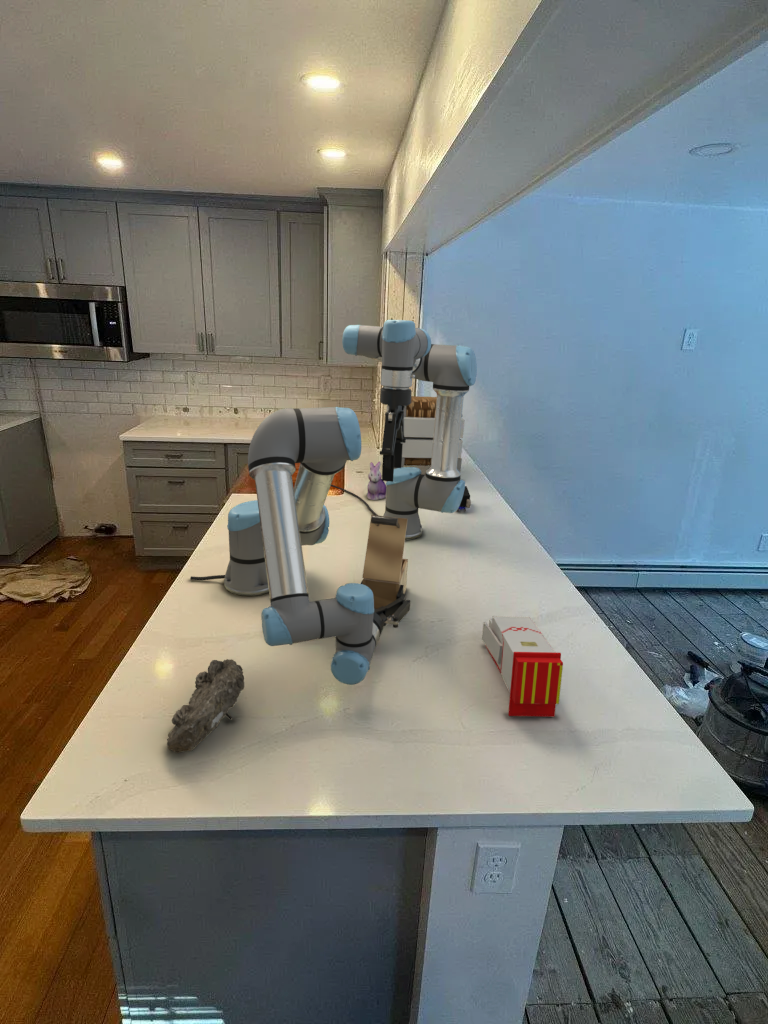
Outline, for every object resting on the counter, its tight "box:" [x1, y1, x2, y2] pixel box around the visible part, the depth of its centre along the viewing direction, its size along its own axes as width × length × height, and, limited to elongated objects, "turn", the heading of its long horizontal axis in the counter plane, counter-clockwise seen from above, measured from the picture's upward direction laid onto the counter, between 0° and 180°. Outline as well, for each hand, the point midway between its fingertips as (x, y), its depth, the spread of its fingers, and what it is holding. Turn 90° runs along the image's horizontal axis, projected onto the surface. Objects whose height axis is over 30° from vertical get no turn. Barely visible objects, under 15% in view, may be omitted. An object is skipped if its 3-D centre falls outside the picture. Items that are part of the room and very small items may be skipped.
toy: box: [481, 615, 564, 718], centre depth 123 cm, size 12×13×30 cm
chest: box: [362, 558, 409, 617], centre depth 152 cm, size 16×10×9 cm, turn 169°
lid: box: [362, 514, 408, 583], centre depth 141 cm, size 16×10×8 cm
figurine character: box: [456, 485, 472, 513], centre depth 228 cm, size 7×8×15 cm
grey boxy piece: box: [386, 395, 465, 473], centre depth 268 cm, size 34×33×41 cm
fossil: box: [166, 658, 245, 754], centre depth 106 cm, size 22×10×15 cm
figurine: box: [366, 461, 386, 501], centre depth 235 cm, size 9×10×15 cm
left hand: (382, 587), depth 148 cm, fingers closed on chest, 9 cm apart
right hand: (392, 473), depth 144 cm, fingers open, 12 cm apart
